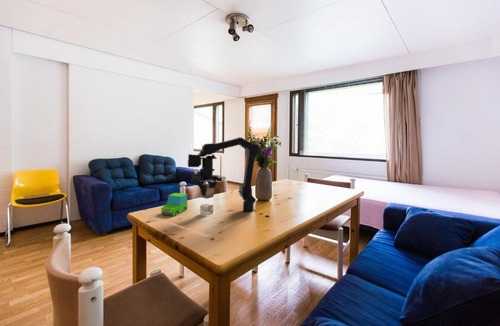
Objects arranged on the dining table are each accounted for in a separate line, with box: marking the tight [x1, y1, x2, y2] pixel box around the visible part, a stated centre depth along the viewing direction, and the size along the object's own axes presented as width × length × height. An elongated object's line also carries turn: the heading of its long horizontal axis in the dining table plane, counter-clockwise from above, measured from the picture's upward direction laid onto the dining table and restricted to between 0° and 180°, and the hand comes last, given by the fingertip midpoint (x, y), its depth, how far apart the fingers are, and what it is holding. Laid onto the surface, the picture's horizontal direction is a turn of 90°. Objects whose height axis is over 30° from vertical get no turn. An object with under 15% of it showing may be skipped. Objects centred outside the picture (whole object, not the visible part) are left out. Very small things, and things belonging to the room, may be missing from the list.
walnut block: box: [199, 186, 215, 200], centre depth 129 cm, size 5×5×5 cm
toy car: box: [160, 192, 188, 217], centre depth 131 cm, size 10×13×10 cm
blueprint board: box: [198, 212, 217, 218], centre depth 131 cm, size 14×10×1 cm
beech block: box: [199, 202, 214, 217], centre depth 130 cm, size 5×5×5 cm
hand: (207, 195), depth 129 cm, fingers closed on walnut block, 5 cm apart
